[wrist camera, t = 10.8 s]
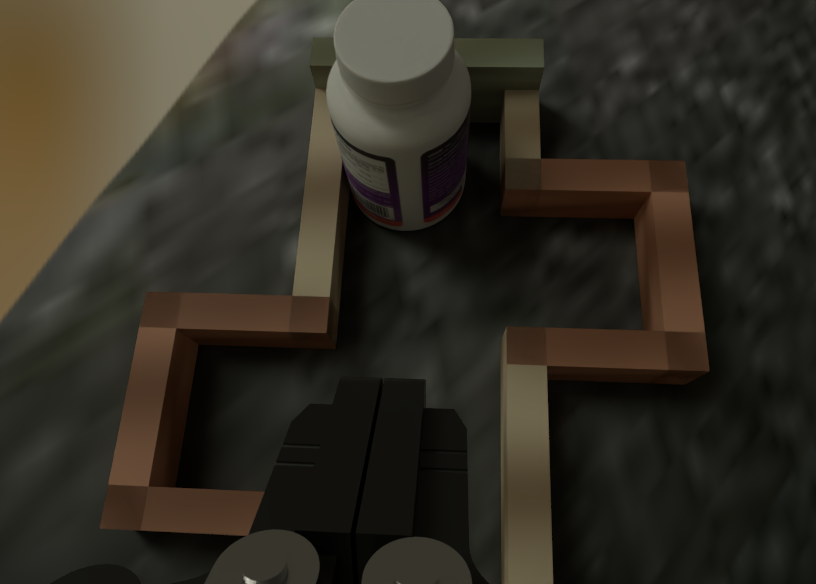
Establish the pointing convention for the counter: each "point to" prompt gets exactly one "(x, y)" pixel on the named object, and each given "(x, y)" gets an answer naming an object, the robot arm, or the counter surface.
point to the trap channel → (520, 346)
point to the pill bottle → (400, 110)
